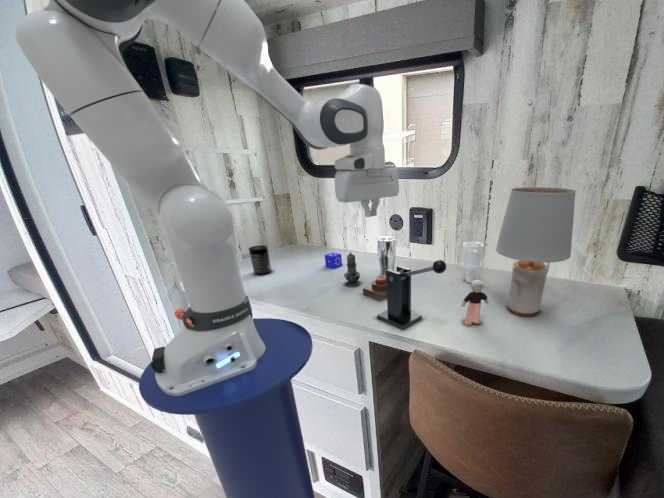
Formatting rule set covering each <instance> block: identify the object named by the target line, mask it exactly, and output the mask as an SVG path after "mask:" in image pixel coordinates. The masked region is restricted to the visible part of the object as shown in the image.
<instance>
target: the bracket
mask: <svg viewBox="0 0 664 498" xmlns="http://www.w3.org/2000/svg"><path fill="white" fill-rule="evenodd" d="M401 270H404V272H409V271H412V269H411V268H408V267H406V266H405V267H404V266H402V265H397V266H396V270H394V271H393V270H386V276H387V298H386V305H387V307H386V310H384V311H382V312H380V313H378V314H377V315H376V319H378V320H380V321H382V322H384V323H387V324H389V325H391V326H394V327H396V328H398V329H401V330H402V331H404V330H406V329H407V328H409V327H411V326H412V325H414V324H417V323H418V322H419V321H422V319H423V316H422V314H419V313H416V312H413V311H412V275H411V276H406V279H404V280H401V273H399V272H397V271H401Z"/></svg>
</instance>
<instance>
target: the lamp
mask: <svg viewBox="0 0 664 498" xmlns="http://www.w3.org/2000/svg"><path fill="white" fill-rule="evenodd" d="M576 192H577V191H576V190H575V189H570V188H562V187H536V186H535V187H533V186H531V187H514V188H512V189H511V190H510V194H509V198H508V201H507V205H506V209H505V213H504V216H503V220H502V224H501V228H500V233H499V236H498V238H497V243H496V246H495V251H496V253H497V254H499V255H501V256H503V257H504V258H505V257H506V258H509V259H512V260H516V261H515V262H514V263H513V265H512V271H511V278H510V285H509V291H508V292H509V293H508V298H507V307H508V308H509V311H510V312H511V313H513V314H515V315H517V316H522V317H531V316H534V315H536V314H537V313H538V312H539V311H540V309H541V306H542V300H543V296H544V290H545V285H546V280H547V276H548V270H549V267H548V265H546V263H548V264H549V263H559V262H563V261H564V262H565V261H566V260H569V259H570V258H571V256H572V244H573V242H572V241H573V233H574V232H573V230H574V218H575V216H574V215H575V204H576V203H575V200H576Z"/></svg>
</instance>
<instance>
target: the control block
mask: <svg viewBox="0 0 664 498" xmlns="http://www.w3.org/2000/svg"><path fill="white" fill-rule="evenodd" d="M362 294H363V295H365V296H367V297H370V298H372V299H374V300H377V301H382V300H384V299H387V283H386V284H377V283H376V278H375V279H373V280H372V281H371V284H370V285H368V286H364V287H363V288H362Z"/></svg>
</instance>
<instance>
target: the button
mask: <svg viewBox="0 0 664 498" xmlns="http://www.w3.org/2000/svg"><path fill="white" fill-rule="evenodd" d="M375 279H376V283H377V284H386V283H387V277H384V276H380V275H379V276H377V277H375Z"/></svg>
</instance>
